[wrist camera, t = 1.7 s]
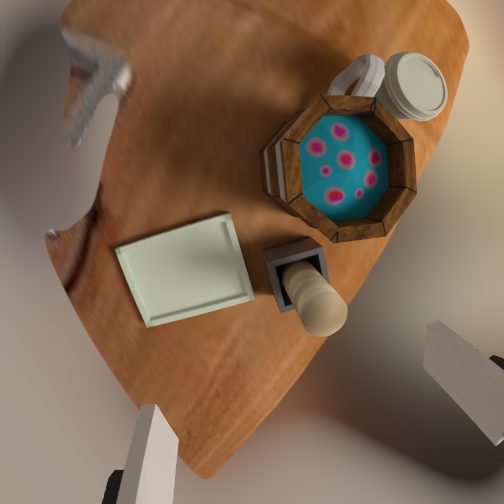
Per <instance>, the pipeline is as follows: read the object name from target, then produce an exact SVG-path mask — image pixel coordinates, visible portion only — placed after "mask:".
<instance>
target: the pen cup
mask: <svg viewBox="0 0 504 504" xmlns="http://www.w3.org/2000/svg"><path fill="white" fill-rule="evenodd" d="M262 254H263V258H264V261H265V265H266V269H267V272H268V276H269V280H270V283H271V287H272V291H273V295H274V297H275V300H276V302H277V305H278V307H279V310H280V312H281V313H283V312H286V311H289V310H292V309H295V307H294V306H293V304H292V302H291V300H290V298H289V296H288V294H287V292H286V290H285V288H284V286H283V284H282V282H281V280H280V278H279V276H278V274H277V266H279V265H282V264H286V263H289V262H292V261H296V260H299V259H303V258H306V259H307V260H308V261H309V262H310V263H311V265H312V266H313V267H314V268H315V269H316V270H317V271H318V272H319V273H320V275H321V276H322V277H323V278H324V279H325V280H326V281H327V282H328V283H329V285H330V282H329V277H328V272H327V266H326V261H325V256H324V251H323V247H322V246H321V245H320V244H319V243H317V242H316V241H315V240H314V239H312V238H311V237H307V238H303V239H300V240H296V241H293V242H289V243H286V244H282V245H279V246H275V247H272V248H268V249H265V250H262Z"/></svg>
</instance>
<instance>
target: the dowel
mask: <svg viewBox="0 0 504 504" xmlns="http://www.w3.org/2000/svg"><path fill="white" fill-rule="evenodd" d="M277 274H278V276H279V278H280V280H281V282H282V284H283V286H284V288H285V290H286V292H287V294H288V296H289V298H290V300H291V302H292V304H293V306H294V307H295V309H296V311H297V313H298V315H299V317H300V319H301V321H302V323H303V325H304V327H305V329H306V330H307V331H308V332H309V333H310V334H312V335H314V336H319V337H323V336H328V335H331V334H333V333H335V332H336V331H338V330H339V329H340V328H341V327H342V325H343V324H344V322H345V320H346V318H347V306H346V303H345V302H344V300H343V299H342V298H341V297H340V296H339V295H338V294H337V292H336V291H335V290H334V289H333V288H332V287H331V286H330V285H329V283H328V282H327V281H326V280H325V279H324V278H323V277H322V276H321V275H320V273H319V272H318V271H317V270H316V269H315V268H314V267H313V266H312V265H311V263H310V262H309V261H308V260H307V259H306V258H303V259H299V260H296V261H292V262H289V263H286V264H282V265H279V266H277Z"/></svg>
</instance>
